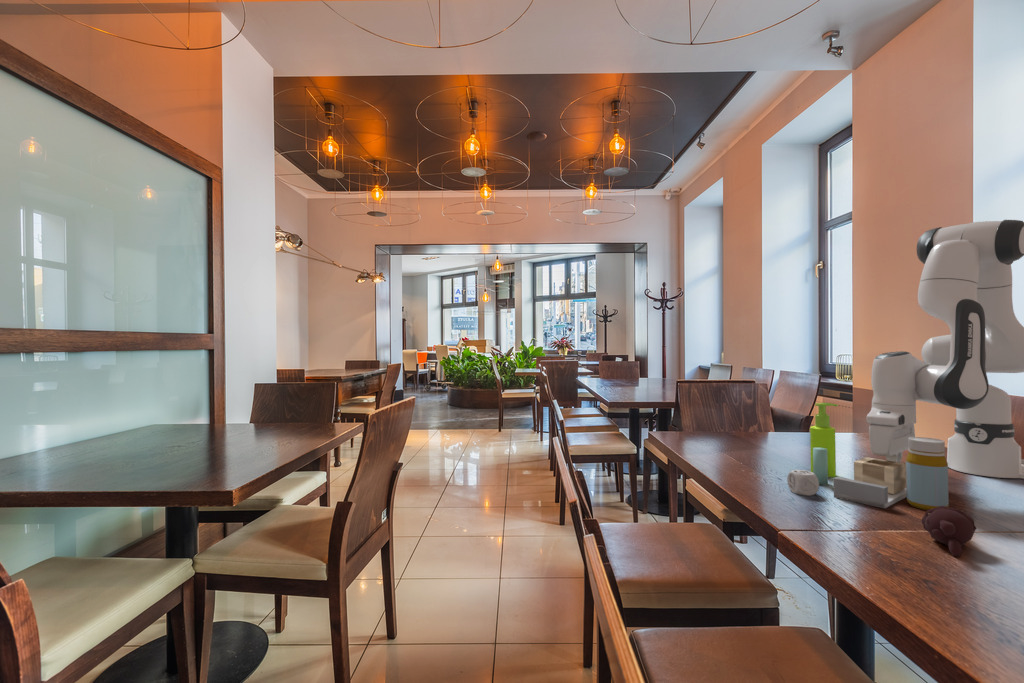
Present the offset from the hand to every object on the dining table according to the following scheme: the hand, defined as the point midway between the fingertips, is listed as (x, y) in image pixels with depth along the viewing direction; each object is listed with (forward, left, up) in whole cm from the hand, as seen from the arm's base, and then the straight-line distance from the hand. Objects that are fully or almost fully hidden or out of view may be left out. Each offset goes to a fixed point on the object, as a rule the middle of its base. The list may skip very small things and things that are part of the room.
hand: (894, 469), depth 121 cm
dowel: (+12, -12, -4) cm, 18 cm away
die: (+24, -11, -5) cm, 27 cm away
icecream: (+34, +18, -5) cm, 39 cm away
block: (+9, 0, -3) cm, 9 cm away
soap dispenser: (+2, -15, -5) cm, 16 cm away
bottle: (+13, +10, -5) cm, 17 cm away
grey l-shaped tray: (+13, 0, -4) cm, 13 cm away
